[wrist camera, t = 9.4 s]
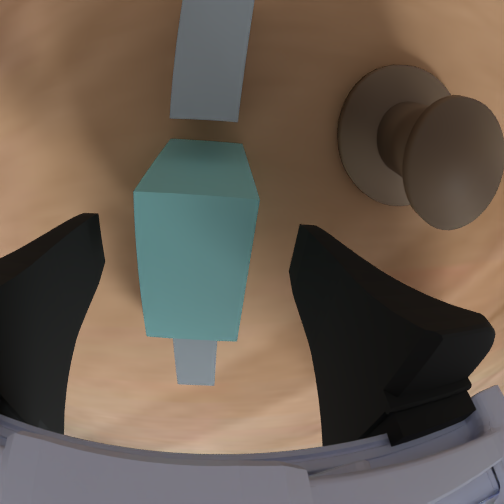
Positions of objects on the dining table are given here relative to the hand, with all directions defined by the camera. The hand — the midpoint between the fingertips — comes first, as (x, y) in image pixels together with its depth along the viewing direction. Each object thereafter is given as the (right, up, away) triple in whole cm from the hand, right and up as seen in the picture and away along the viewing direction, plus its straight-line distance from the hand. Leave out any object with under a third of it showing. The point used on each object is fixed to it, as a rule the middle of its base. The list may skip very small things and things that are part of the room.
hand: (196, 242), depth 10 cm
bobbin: (+9, +5, +2) cm, 11 cm away
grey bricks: (0, +2, +3) cm, 3 cm away
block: (0, +2, +3) cm, 4 cm away
